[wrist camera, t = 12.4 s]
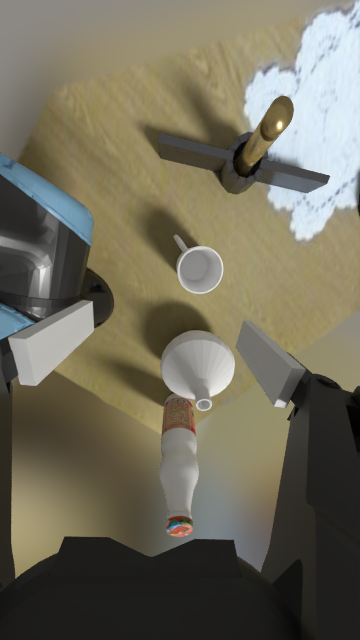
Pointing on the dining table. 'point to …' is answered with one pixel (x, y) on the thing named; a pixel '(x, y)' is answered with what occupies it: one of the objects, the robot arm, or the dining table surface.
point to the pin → (265, 134)
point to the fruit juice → (178, 463)
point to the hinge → (223, 163)
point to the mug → (198, 268)
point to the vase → (197, 366)
